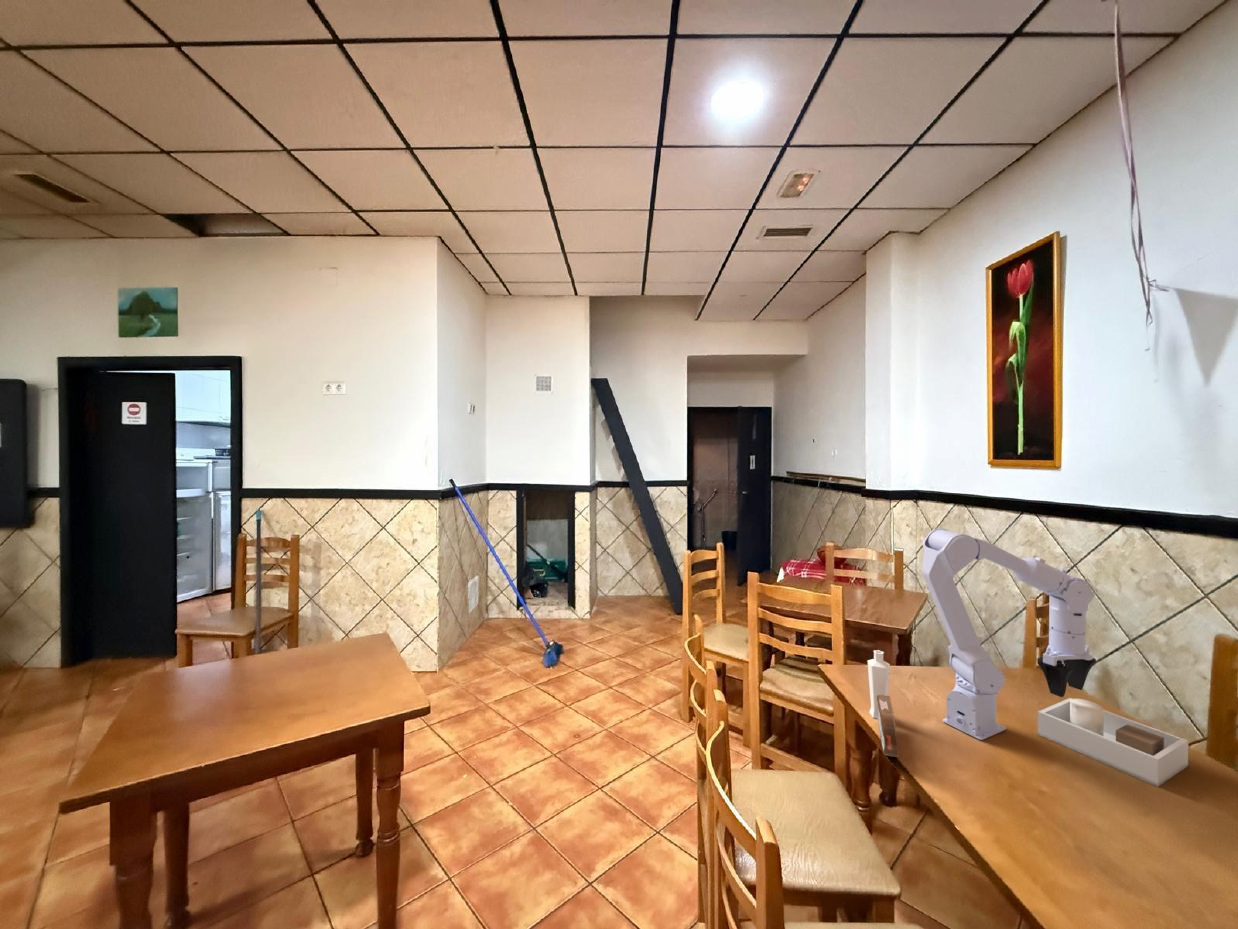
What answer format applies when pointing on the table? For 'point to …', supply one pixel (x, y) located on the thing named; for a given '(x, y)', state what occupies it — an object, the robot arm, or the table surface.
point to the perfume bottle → (877, 680)
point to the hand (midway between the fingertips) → (1066, 691)
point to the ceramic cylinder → (1087, 715)
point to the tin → (887, 726)
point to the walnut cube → (1140, 739)
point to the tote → (1115, 744)
